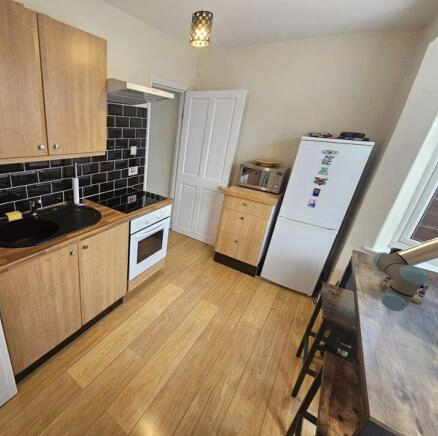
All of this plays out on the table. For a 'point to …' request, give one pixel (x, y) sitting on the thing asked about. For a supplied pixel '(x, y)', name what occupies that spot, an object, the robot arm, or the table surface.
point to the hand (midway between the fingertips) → (410, 276)
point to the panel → (415, 298)
